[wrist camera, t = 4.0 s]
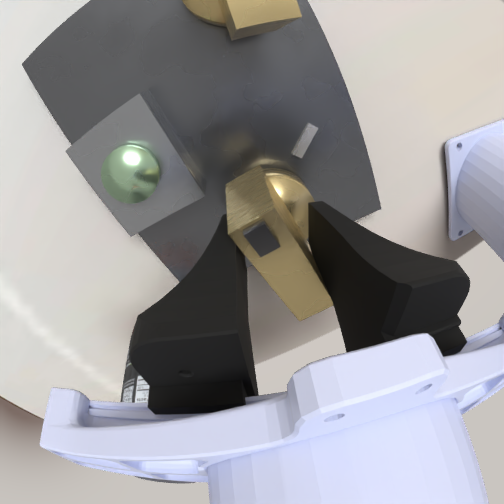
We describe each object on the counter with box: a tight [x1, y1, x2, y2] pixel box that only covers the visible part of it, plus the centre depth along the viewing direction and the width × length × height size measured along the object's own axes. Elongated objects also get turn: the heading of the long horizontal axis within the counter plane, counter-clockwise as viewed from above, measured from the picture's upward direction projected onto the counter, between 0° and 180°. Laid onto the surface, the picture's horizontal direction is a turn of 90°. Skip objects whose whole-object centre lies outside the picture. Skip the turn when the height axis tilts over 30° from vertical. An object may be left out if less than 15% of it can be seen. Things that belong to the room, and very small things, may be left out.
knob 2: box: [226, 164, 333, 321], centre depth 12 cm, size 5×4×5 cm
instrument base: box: [22, 0, 381, 282], centre depth 11 cm, size 12×16×3 cm
